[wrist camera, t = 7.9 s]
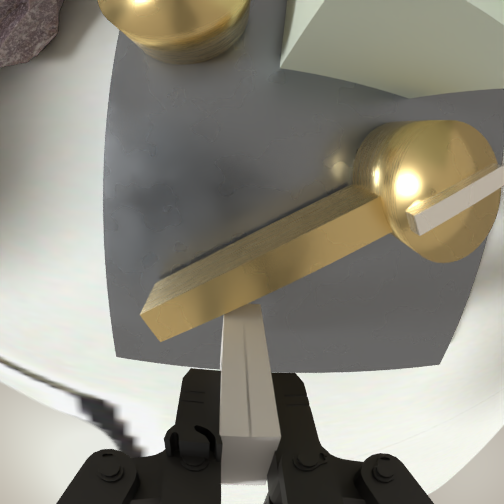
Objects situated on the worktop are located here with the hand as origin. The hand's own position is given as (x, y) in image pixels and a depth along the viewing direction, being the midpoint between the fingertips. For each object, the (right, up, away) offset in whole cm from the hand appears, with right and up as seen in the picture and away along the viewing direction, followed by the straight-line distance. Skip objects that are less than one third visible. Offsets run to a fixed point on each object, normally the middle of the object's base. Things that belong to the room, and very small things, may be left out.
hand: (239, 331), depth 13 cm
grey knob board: (+5, +13, 0) cm, 14 cm away
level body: (+5, +13, -2) cm, 14 cm away
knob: (+3, +4, 0) cm, 5 cm away
